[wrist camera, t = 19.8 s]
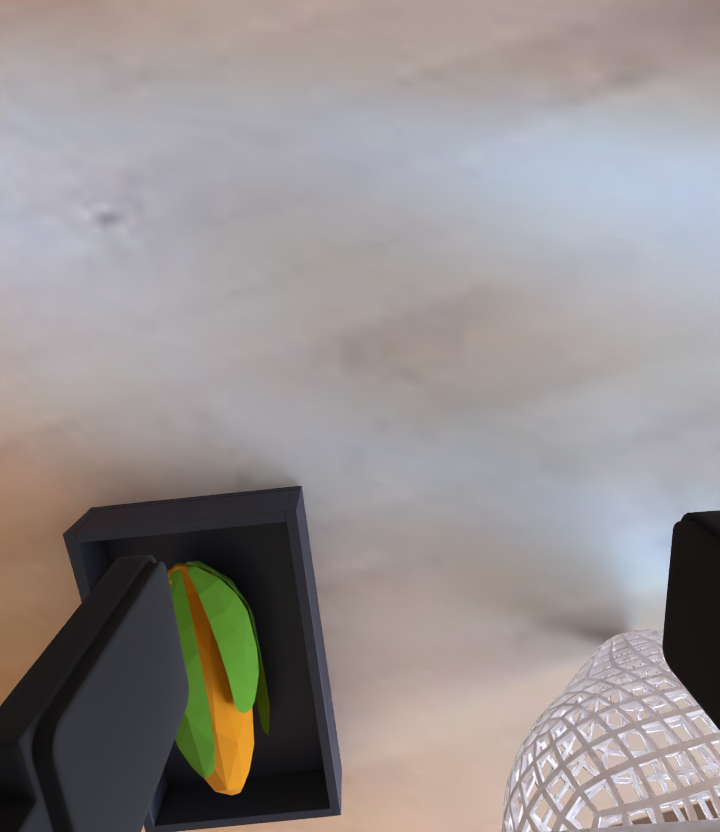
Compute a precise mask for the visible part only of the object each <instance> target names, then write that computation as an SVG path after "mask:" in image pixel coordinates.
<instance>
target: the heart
mask: <svg viewBox="0 0 720 832" xmlns="http://www.w3.org/2000/svg"><path fill="white" fill-rule="evenodd" d="M663 633H664V630H637V631H629V632H624V633H621V634H618V635H615V636H613V637H611V638H610V639H608V640H606V641H605V642H604V643H602V644H601V645H600V646H599V647H598V649H597V650H596V651H595V652H594V653H593V654H592V655H591V656H590V658H589V659H588V660H587V661H586V663H585V664H584V665H583V666H582V668H581V669H580V670H579V672H578V673H577V674H576V675H575V677H574V678H573V679H572V680H571V682H570V683H569V684H568V685H567V687H566V688H565V689H564V690H563V691H562V693H561V694H560V695H559V696H558V697H557V698H556V699H555V700H554V701H553V702H552V703H551V704H550V706H549V707H548V708H547V709H546V710H545V711H544V713H543V714H542V715H541V716H540V717H539V718H538V720H537V721H536V722H535V724H534V725H533V727H532V728H531V730H530V731H529V733H528V735H527V736H526V738H525V739H524V741H523V743H522V745H521V747H520V749H519V751H518V754H517V756H516V758H515V761H514V764H513V767H512V770H511V772H510V775H509V778H508V781H507V786H506V791H505V799H504V810H503V824H502V832H529V831H530V827H532V829H533V831H534V832H553V831H565V830H567V828H568V829H569V830H578V829H584V828H583V827H582V826H581V825H580V823H579V822H578V821H577V820H576V819H575V818H574V817H575V816H576V815H577V813H578V812H579V811H580V810H581V809H582V808H583V807H584V806H585V805H586V806H587V807H588V808H589V810H590V811H591V812H592V813H593V815H594V820H593V824H592V827H591V828H603V827H609V825H610V824H612V823H614V822H616V821H618V820H619V819H621V818H622V823H623V826H629V825H633V824H632V822H631V820H630V819H629V817H628V816H629V815H634V814H638V813H642V812H646V813H647V815H648V816H649V818H650V820H651V821H652V823H653V824H654V823H665V821H664V818H663V815H662V811H661V808H664V807H669V806H671V807H672V809H673V811H674V812H675V814H676V816H677V818H678V820H679V821H680V822H682V821H686V820H685V819H684V817H683V815H682V813H681V811H680V809H679V808H678V806H677V805H678V804H682V803H683V805H684V808H685V810H686V813H687V815H688V818H689V821H695V820H698V818H697V815H696V813H695V811H694V808H693V806H692V803H691V801H696V800H697V801H698V803H699V805H700V807H701V808H702V810H703V812H704V814H705V816H706V817H707V820H709V819H714V818H713V816H712V814H711V812H710V811H709V809H708V807H707V805H706V803H705V801H704V799H705V798H710V800H711V802H712V804H713V806H714V808H715V810H716V812H717V815H718V817H719V818H716V819H720V800H719V798H718V796H720V789H717V790H714V788H715V787H718V786H719V787H720V774H719V772H718V770H717V767H719V768H720V755H719V754H718V752H717V751H716V750H715V748H714V747H713V745H712V744H714V743H718V742H720V730H718V729H717V728H716V727H717V726H716V727H715V726H714V725H713V724H712V723H711V722H710V720H711V719H710V720H709V719H708V718H707V717H706V716H705V715H704V713H705V711H704V710H703V709H702V708H701V707H700V705H699V704H698V703H697V702H696V700H695V699H694V698H693V697H692V695H691V694H690V693H689V692H688V690H687V689H686V688H685V687H684V685H683V684H682V683H681V682H680V680H679V679H678V678H677V677H676V675H675V674H674V673H673V672H672V671H669V670H668V669H667V668H665V667H666V666H668V665H667V663H666V660H664V658H663V657H664V655H663V652H662V651H663V649H662V644H663ZM655 639H657V640H655ZM639 642H644V643H640V644H639ZM636 643H637V644H636ZM632 644H636V645H632ZM641 648H646V649H642V650H641ZM637 649H640V650H638V651H637ZM630 651H631V653H629V652H630ZM655 651H659V653H652V652H655ZM626 652H627V654H625V655H623V653H626ZM606 653H607V654H606ZM604 654H606V655H604ZM620 654H621V656H619V657H618V656H617V655H620ZM647 655H648V656H647ZM614 656H615V657H614ZM634 657H636V659H634V660H632V659H631V658H634ZM659 658H661V659H662V661H659V662H657V660H656V659H659ZM607 659H609V660H607ZM627 659H629V660H630V661H627V662H625V660H627ZM606 660H607V661H606ZM652 660H655V661H656V662H653V661H652ZM621 661H623V663H621V664H619V662H621ZM642 663H644V664H645V665H644V666H643V665H642ZM637 664H640V666H641V667H637V668H635V666H634V665H637ZM609 666H610V668H607V667H609ZM630 666H632V667H633V669H627V667H630ZM602 668H603V669H602ZM624 668H625V669H624ZM600 669H602V670H601V671H600V672H598V670H600ZM650 670H654V671H655V672H656V673H657V674H656V675H652V676H650V674H649V673H648V672H647V671H650ZM642 672H645V673H646V675H647V676H648V677H644V678H641V677H640V676H639V673H642ZM608 675H611V676H609V677H608ZM603 676H605V677H604V679H602V677H603ZM625 677H627V679H628V682H626V683H623V684H622V683H621V679H622V678H625ZM667 679H668V680H669V681H670V682H672V683H673V684H674V685H676V686H677V687H674V686H673V685H672V684H671V683H670V682H669V681H668V680H667ZM616 680H618V682H619V685H616V684H614V683H613V682H614V681H616ZM631 680H633V681H631ZM663 681H665V682H666V683H667V684H668V685H669V686H670V687H671V688H668V689H663V690H661V689H660V688H659V686H658V685H657V684H659V683H661V682H663ZM590 684H591V685H590ZM654 686H655V687H654ZM582 687H583V688H582ZM599 687H600V690H599V692H598V693H596V692H595V691H594V690H595V689H597V688H599ZM604 687H606V688H608V689H606V690H603V689H604ZM581 688H582V689H581ZM580 689H581V690H580ZM639 689H643V691H644V693H645V694H643V695H639V696H635V693H634V690H639ZM646 689H647V690H649V691H650V692H651V693H648V692H647V690H646ZM578 690H580V691H578ZM629 691H631V693H630V692H629ZM615 693H619V702H617V703H614V702H612V701H611V695H613V694H615ZM685 694H686V695H687V696H688V697H689V698H690V699H691V700H692V701H693V702H694V703H695V704H697V705H696V706H695V705H694V704H693V703H692V702H690V701H689V700H688V699H687V698H686V697H685V696H684V695H685ZM673 695H674V696H673ZM623 696H625V697H626V698H628V699H626V700H623ZM669 696H672V697H670V698H668V697H669ZM582 697H585V698H586V699H585V700H583V701H581V699H582ZM605 697H608V699H607V698H605ZM679 698H682V699H683V700H684V701H685V702H686V703H687V704H688V705H689V706H690V707H687V708H683V709H680V708H679V707H678V706H677V705H676V704H675V703H674V701H676V700H678V699H679ZM657 699H660V700H662V701H659V702H656V703H653V700H657ZM594 702H595V706H594V709H593V711H591V710H589V709H588V708H587V707H588V706H589V705H591V704H593V703H594ZM599 702H600V703H602V704H603V705H605V706H606V707H605V708H603V709H600V710H598V706H599ZM645 702H649V704H645ZM664 705H667V706H668V707H669V708H670V709H671V710H672V711H671V712H667V713H663V714H659V713H658V711H657V709H656V708H657V707H660V706H664ZM597 710H598V711H597ZM641 710H643V711H645V712H646V713H647V714H648V715H649V716H650V717H649V718H645V719H642V717H641V714H640V711H641ZM579 711H580V712H581V713H580V715H579V718H578V720H577V722H576V723H575V721H574V720H573V718H572V717H573V716H574V715H575V714H576V713H578V712H579ZM625 711H635V712H636V715H637V719H638V721H635V720H634V719H633V718H632V717H631V716H630V715H628V714H627V713H626V712H625ZM615 712H617V713H618V714H619V715H620V722H621V727H619V726H615V725H611V724H609V715H610V714H612V713H615ZM705 714H706V713H705ZM584 715H587V717H585V718H584ZM706 715H707V714H706ZM707 716H708V715H707ZM603 717H605V722H604V721H603V720H602V719H601V718H603ZM698 717H701V718H702V719H703V720H704V722H705V723H706V724H707V725H708V726H709V727H710V728H711V729H712V730H713V732H714V733H713V734H709V735H704V734H703V733H702V732H701V730H700V729H699V728H698V727H697V726H696V725H695V724H694V723H693V721H692V720H694V719H696V718H698ZM708 717H709V716H708ZM583 718H584V719H583ZM677 719H678V721H674V722H671V723H668V724H667V723H666V722H669V721H673V720H677ZM625 721H626V722H627V723H629V724H628V725H625ZM711 721H712V720H711ZM712 722H713V721H712ZM594 723H597V724H598V725H599V726H600V727H601V728H602V729H603V730H604V735H602V736H600V737H598V738H597V739H595V740H593V739H591V737H592V732H593V727H594ZM561 725H562V726H561ZM588 725H589V728H588V732H587V735H586V734H585V733H584V732H583V731H582V729H583V728H585V727H587V726H588ZM655 725H659V726H655ZM680 725H683V727H684V728H685V730H686V731H687V733H688V734H689V736H690V737H691V740H688V741H684V742H683V741H682V740H681V739H680V738H679V737H678V736H677V735H676V734H675V732H674V731H673V730H672V729H671V728H673V727H676V726H680ZM560 727H561V728H560ZM559 728H560V729H559ZM566 728H568V729H567V730H566V731H565V729H566ZM564 731H565V732H564ZM655 731H663V733H664V736H665V738H666V740H667V742H668V744H669V746H668V747H665V748H662V749H660V748H659V747H658V746H657V745H656V744H655V742H654V741H653V740H652V739H651V738H650V736H649V735H648V734H647V733H648V732H655ZM632 733H638V734H639V735H640V736H641V738H642V739H643V740H644V744H645V747H646V750H647V751H629V746H628V740H627V735H629V734H632ZM553 734H555V738H554V735H553ZM695 735H696V736H697V737H696V736H695ZM576 737H577V739H578V740H579V741H580V743H581V744H582V746H583V747H581V748H580V749H579V750H577V751H576V752H574V751H573V750H572V749H571V747H572V744H573V742H574V740H575V738H576ZM621 737H622V741H623V742H622V741H621V739H620V738H621ZM547 738H549V741H550V744H549V745H548V746H546V744H545V740H546V739H547ZM568 739H569V740H568ZM567 740H568V742H567V743H566V741H567ZM612 741H614V743H615V744H616V745H617V747H618V748H619V749H620V750H616V749H610V748H608V743H610V742H612ZM674 743H675V744H674ZM560 745H561V746H562V747H563V748H564V750H563V752H562V753H561V752H560V749H559V746H560ZM703 746H705V748H706V749H707V751H708V752H709V754H710V755H711V757H712V758H713V759H714V761H715V762H713V761H712V760H711V758H710V757H709V755H708V754H707V752H706V750H705V749H704V747H703ZM540 748H541V750H542V752H541V753H540ZM697 748H698V750H699V751H700V753H701V755H702V756H703V758H704V760H705V761H706V763H707V764H706V765H702V766H699V764H698V763H697V761H696V760H695V758H694V757H693V755H692V754H691V752H690V750H694V749H697ZM596 749H598V750H599V751H601V752H602V762H601V761H600V759H599V758H598V756H597V755H596V753H595V752H594V751H595V750H596ZM552 752H554V754H555V756H556V759H557V761H556V763H555V761H554V760H553V758H552V757H551V755H550V754H551V753H552ZM681 753H683V755H684V756H685V758H686V759H687V761H688V762H689V764H690V766H691V767H692V768H690V769H687V767H686V765H685V763H684V761H683V759H682V757H681V755H680V754H681ZM567 754H569V755H570V756H569V757H568V758H567V759H565V758H566V756H567ZM588 754H589V756H590V757H591V759H592V760H593V762H594V763H595V764H596V766H597V767H598V769H599V770H600V772H601V773H599V772H597V771H596V770H595V769H594V768H592V767H591V766H590V765H588V764H587V763H586V762H585V760H586V756H587V755H588ZM608 754H610V755H616V756H623V757H625V760H626V762H623V763H621V764H619V765H616V766H614V767H612V768H609V769H608ZM672 756H675V758H676V760H677V762H678V764H679V766H680V768H681V771H675V772H674V770H673V768H672V767H671V765H670V763H669V762H668V760H667V758H669V757H672ZM634 757H636V758H634ZM564 759H565V760H564ZM546 761H547V762H548V763H549V765H550V766H551V768H552V769H551V771H550V773H549V774H548V776H547V777H546V779H545V780H544V776H543V773H542V768H543V766H544V764H545V763H546ZM657 761H660V763H661V764H662V766H663V768H664V769H665V771H666V773H665V774H662V773H661V771H660V769H659V766H658V764H657ZM576 763H577V765H576V766H575V768H574V769H573V770H572V772H571V770H570V769H569V768H570V767H572V766H573V765H574V764H576ZM648 764H652V767H653V769H654V772H655V775H650V776H645V775H644V773H643V771H642V769H641V767H642V766H645V765H648ZM582 767H583V768H584V769H585V770H587V771H588V772H589V773H590V774H592V775H593V776H594V778H592V779H591V780H589V781H588V782H586V783H585V784H583V785H582V786H580V784H579V783H578V781H577V779H576V778H575V777H576V776H577V774H578V773H579V771H580V770H581V768H582ZM706 770H711V772H712V774H713V776H714V777H713V778H710V779H708V778H707V776H706V775H705V773H704V772H703V771H706ZM634 771H635V772H634ZM627 772H628V774H629V777H617V776H619V775H622V774H624V773H627ZM635 773H636V775H637V777H636V776H635ZM694 773H696V775H697V776H698V778H699V779H700V781H701V782H699V783H696V784H695V782H694V780H693V779H692V777H691V775H690V774H694ZM530 776H531V777H530ZM680 776H685V778H686V780H687V782H688V784H689V786H688V787H685V788H684V786H683V785H682V783H681V781H680V780H679V778H678V777H680ZM529 778H530V779H529ZM559 778H561V779H562V780H563V781H564V784H563V785H562V787H561V788H560V790H559V791H558V792H557V794H556V795H555V797H554V796H553V795H552V794H551V793H550V792H549V790H550V789H551V788H552V786H553V785H554V784H555V783H556V782H557V781H558V780H559ZM528 779H529V781H528V783H527V785H526V786H525V783H526V782H527V780H528ZM664 779H670V780H671V781H672V783H673V785H674V786H675V788H676V790H675V791H672V792H670V790H669V788H668V786H667V784H666V782H665V780H664ZM649 781H658V782H659V784H660V786H661V788H662V790H663V792H664V794H662V795H659V796H656V795H655V794H654V792H653V790H652V788H651V786H650V784H649ZM534 783H535V784H536V786H537V787H538V790H537V792H536V793H535V795H534V796H533V798H532V799H531V801H530V803H529V800H528V795H529V793H530V791H531V789H532V786H533V784H534ZM627 783H631V784H632V786H633V788H634V790H635V792H636V794H637V796H638V798H639V800H640V801H636V802H632V803H629V804H624V802H623V800H622V798H621V796H620V794H619V792H618V790H617V788H616V786H615V784H627ZM638 783H641V785H642V787H643V788H644V790H645V792H646V794H647V796H648V799H646V798H645V796H644V794H643V792H642V790H641V788H640V786H639V784H638ZM568 787H569V788H570V789H571V790H572V791H573V792H574V794H573V795H572V797H571V798H570V800H569V801H568V802H567V804H566V805H565V807H563V806H562V805H561V804H560V803H559V800H560V799H561V797H562V796H563V794H564V793H565V792H566V790H567V789H568ZM603 787H605V789H606V790H607V792H608V794H609V796H610V797H611V799H612V801H613V802H614V804H615V806H616V807H613V808H609V809H605V810H601V811H598V809H597V808H596V807H595V805H594V804H593V803H592V801H591V800H590V799H591V798H592V797H594V796H595V795H596V794H597V793H598V792H599V791H600V790H601V789H602V788H603ZM705 791H707V792H705ZM702 792H703V793H702ZM543 798H545V799H546V801H547V803H548V804H549V807H548V809H547V811H546V813H545V815H544V817H543V819H542V821H541V820H540V818H539V817H538V816H537V815H536V814H535V812H536V810H537V808H538V807H539V805H540V803H541V802H542V800H543ZM516 799H518V801H519V804H518V808H517V811H516V808H515V801H516ZM523 810H524V813H523V816H522V818H521V815H522V811H523ZM652 810H653V811H654V814H653V812H652ZM553 812H554V814H555V815H556V817H557V820H556V822H555V824H554V826H553V828H552V830H551V829H550V828H549V827H548V826H547V823H548V821H549V819H550V817H551V815H552V813H553ZM604 817H609V818H607V819H605V820H604V819H603V818H604ZM520 819H521V821H520ZM519 822H520V823H519Z"/></svg>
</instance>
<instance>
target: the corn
mask: <svg viewBox="0 0 720 832" xmlns="http://www.w3.org/2000/svg"><path fill="white" fill-rule="evenodd" d="M213 573H214V574H216V575H217V576H219V577H220V578H221V579H222V580H223V581H224V582H225V583H226V584H225V583H224V582H223V581H222V580H221V579H220V578H218V577H217V576H216V575H214V574H213ZM167 574H168V579H169V584H170V589H171V594H172V600H173V605H174V610H175V615H176V620H177V625H178V631H179V636H180V641H181V646H182V651H183V657H184V662H185V667H186V672H187V677H188V683H189V697H188V703H187V707H186V709H185V712H184V715H183V718H182V720H181V723H180V726H179V729H178V731H177V734H176V737H175V740H176V743H177V745H178V748H179V749H180V751H181V752H182V754H183V755H184V757H185V758H186V760H187V761H188V763H189V764H190V765H191V766H192V767H193V769H194V770H195V771H196V772H197V773H198V774H199V775H200V776H202V777H203V778H204V779H205V780H206V781H207V782H208V784H209V785H210V786H211V787H212V788H213V790H214V791H215V792H219V793H224V794H228V795H235V794H238V793H240V792H241V790H242V788H243V786H244V783H245V781H246V778H247V776H248V773H249V770H250V765H251V759H252V753H253V748H254V732H253V711H252V706H253V703H254V701H255V696H256V700H257V706H258V712H259V717H260V721H261V726H262V728H263V730H264V731H265V733H266V734H267V735H268V736H269V721H270V707H269V701H268V694H267V688H266V681H265V675H264V669H263V663H262V658H261V652H260V647H259V641H258V636H257V631H256V625H255V620H254V615H253V613H252V611H251V609H250V607H249V604H248V602H247V601H246V599H245V598H244V596H243V595H242V594H241V592H240V591H239V589H238V588H237V586H236V585H235V584H234V582H233V581H232V580H231V579H230V578H228V577H226V576H225V575H223V574H221V573H220V572H218V571H216V570H215V569H213V568H211V567H209V566H207V565H206V564H204V563H202V562H200V561H192V562H187V563H176V564H175V565H174V566H171V567H170V569H169V570H168V571H167Z"/></svg>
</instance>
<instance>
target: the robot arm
mask: <svg viewBox="0 0 720 832" xmlns="http://www.w3.org/2000/svg"><path fill="white" fill-rule="evenodd" d="M662 649H663V655H664V658H665V660H666V663H667V665H668V666H669V668H670V669H671V671H672V672H673V673H674V674H675V675H676V677H677V678H678V679H679V680H680V682H681V683H682V684H683V685H684V687H685V688H686V689H687V690H688V692H689V693H690V694H691V695H692V697H693V698H694V699H695V700H696V702H697V703H698V704H699V705H700V707H701V708H702V709H703V710H704V711H705V713H706V714H707V715H708V716H709V718H710V719H711V720H712V721H713V723H714V724H715V725H716V726H717V728H718V729H719V730H720V511H706V512H693V513H687V514H685V515H684V516H683V518H682V519H681V521H679V522H677V523H676V524H675V525H674V528H673V535H672V546H671V557H670V568H669V579H668V589H667V600H666V611H665V622H664V633H663V644H662ZM188 697H189V683H188V677H187V672H186V667H185V662H184V657H183V651H182V646H181V641H180V636H179V631H178V625H177V620H176V615H175V610H174V605H173V600H172V594H171V589H170V584H169V579H168V574H167V569H166V566H165V564H164V563H163V562H156V560H155V558H154V556H152V555H141V556H129V557H119V558H118V559H116V560H115V562H114V563H113V564H112V565H111V567H110V568H109V569H108V571H107V572H106V573H105V574H104V576H103V577H102V578H101V579H100V581H99V582H98V583H97V584H96V586H95V587H94V588H93V590H92V591H91V592H90V593H89V595H88V596H87V597H86V598H85V600H84V601H83V602H82V603H81V605H80V606H79V607H78V608H77V610H76V611H75V612H74V614H73V615H72V616H71V617H70V619H69V620H68V621H67V622H66V624H65V625H64V626H63V627H62V629H61V630H60V631H59V633H58V634H57V635H56V636H55V638H54V639H53V640H52V641H51V643H50V644H49V645H48V646H47V648H46V649H45V650H44V651H43V653H42V654H41V655H40V657H39V658H38V659H37V660H36V662H35V663H34V664H33V665H32V667H31V668H30V669H29V670H28V672H27V673H26V674H25V676H24V677H23V678H22V679H21V681H20V682H19V683H18V684H17V686H16V687H15V688H14V689H13V691H12V692H11V693H10V695H9V696H8V697H7V698H6V700H5V701H4V702H3V703H2V705H1V706H0V832H141V830H142V827H143V824H144V822H145V819H146V816H147V814H148V811H149V808H150V805H151V803H152V800H153V797H154V794H155V792H156V789H157V786H158V783H159V781H160V778H161V775H162V772H163V770H164V767H165V764H166V762H167V759H168V756H169V753H170V751H171V748H172V745H173V742H174V740H175V737H176V734H177V731H178V729H179V726H180V723H181V720H182V718H183V715H184V712H185V709H186V707H187V703H188ZM553 832H720V819H709V820H695V821H682V822H668V823H654V824H642V825H629V826H616V827H603V828H591V829H578V830H565V831H553Z"/></svg>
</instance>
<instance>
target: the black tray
mask: <svg viewBox="0 0 720 832" xmlns="http://www.w3.org/2000/svg"><path fill="white" fill-rule="evenodd" d="M63 536H64V540H65V543H66V547H67V550H68V554H69V558H70V561H71V565H72V568H73V572H74V576H75V579H76V583H77V586H78V590H79V594H80V597H81V601H82V602H83V601H84V600H85V598H86V597H87V596H88V595H89V593H90V592H91V591H92V590H93V588H94V587H95V586H96V584H97V583H98V582H99V581H100V579H101V578H102V577H103V576H104V574H105V573H106V572H107V571H108V569H109V568H110V567H111V565H112V564H113V563H114V562H115V560H116V559H118V558H119V557H129V556H141V555H152V556H154V558H155V560H156V562H163V563H164V564H165V566H166V569H167V571H168V570H169V569H170V567H171V566H174V565H175V564H176V563H187V562H192V561H200V562H202V563H204V564H206V565H207V566H209V567H211V568H213V569H215V570H216V571H218V572H220V573H221V574H223V575H225V576H226V577H228V578H230V579H231V580H232V581H233V582H234V584H235V585H236V586H237V588H238V589H239V591H240V592H241V594H242V595H243V596H244V598H245V599H246V601H247V602H248V604H249V607H250V609H251V611H252V613H253V615H254V620H255V625H256V631H257V636H258V641H259V647H260V652H261V658H262V663H263V669H264V675H265V681H266V688H267V694H268V701H269V707H270V721H269V736H268V735H267V734H266V733H265V731H264V730H263V728H262V726H261V721H260V717H259V712H258V706H257V700H256V696H255V701H254V703H253V706H252V711H253V732H254V748H253V753H252V759H251V765H250V770H249V773H248V776H247V778H246V781H245V783H244V786H243V788H242V790H241V792H240V793H238V794H235V795H228V794H224V793H219V792H215V791H214V790H213V788H212V787H211V786H210V785H209V784H208V782H207V781H206V780H205V779H204V778H203V777H202V776H200V775H199V774H198V773H197V772H196V771H195V770H194V769H193V767H192V766H191V765H190V764H189V763H188V761H187V760H186V758H185V757H184V755H183V754H182V752H181V751H180V749H179V748H178V745H177V743H176V740H174V742H173V745H172V748H171V751H170V753H169V756H168V759H167V762H166V764H165V767H164V770H163V772H162V775H161V778H160V781H159V783H158V786H157V789H156V792H155V794H154V797H153V800H152V803H151V805H150V808H149V811H148V814H147V816H146V819H145V822H144V827H145V831H146V832H176V831H186V830H196V829H206V828H216V827H226V826H236V825H246V824H257V823H267V822H277V821H287V820H297V819H307V818H317V817H327V816H337V815H341V780H342V775H341V774H342V768H341V761H340V754H339V747H338V740H337V733H336V726H335V719H334V711H333V704H332V697H331V690H330V683H329V676H328V669H327V662H326V655H325V648H324V641H323V634H322V627H321V620H320V613H319V606H318V599H317V592H316V584H315V577H314V570H313V563H312V556H311V549H310V542H309V535H308V528H307V521H306V514H305V507H304V500H303V493H302V486H296V487H287V488H277V489H267V490H258V491H248V492H238V493H229V494H219V495H209V496H199V497H190V498H180V499H170V500H161V501H151V502H141V503H132V504H122V505H112V506H103V507H93V508H90V509H89V510H88V511H87V512H86V513H85V514H84V515H83V516H82V517H81V518H80V519H79V520H78V521H77V522H75V523H74V524H73V525H72V526H71V527H70V528H69V529H68V530H67V531H66V532H65V533H64V534H63ZM213 574H214V573H213ZM214 575H216V574H214ZM216 576H217V575H216ZM217 577H218V578H220V577H219V576H217ZM220 579H221V578H220ZM221 580H222V579H221ZM222 581H223V580H222ZM223 582H224V581H223ZM224 583H225V582H224ZM225 584H226V583H225Z"/></svg>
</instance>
